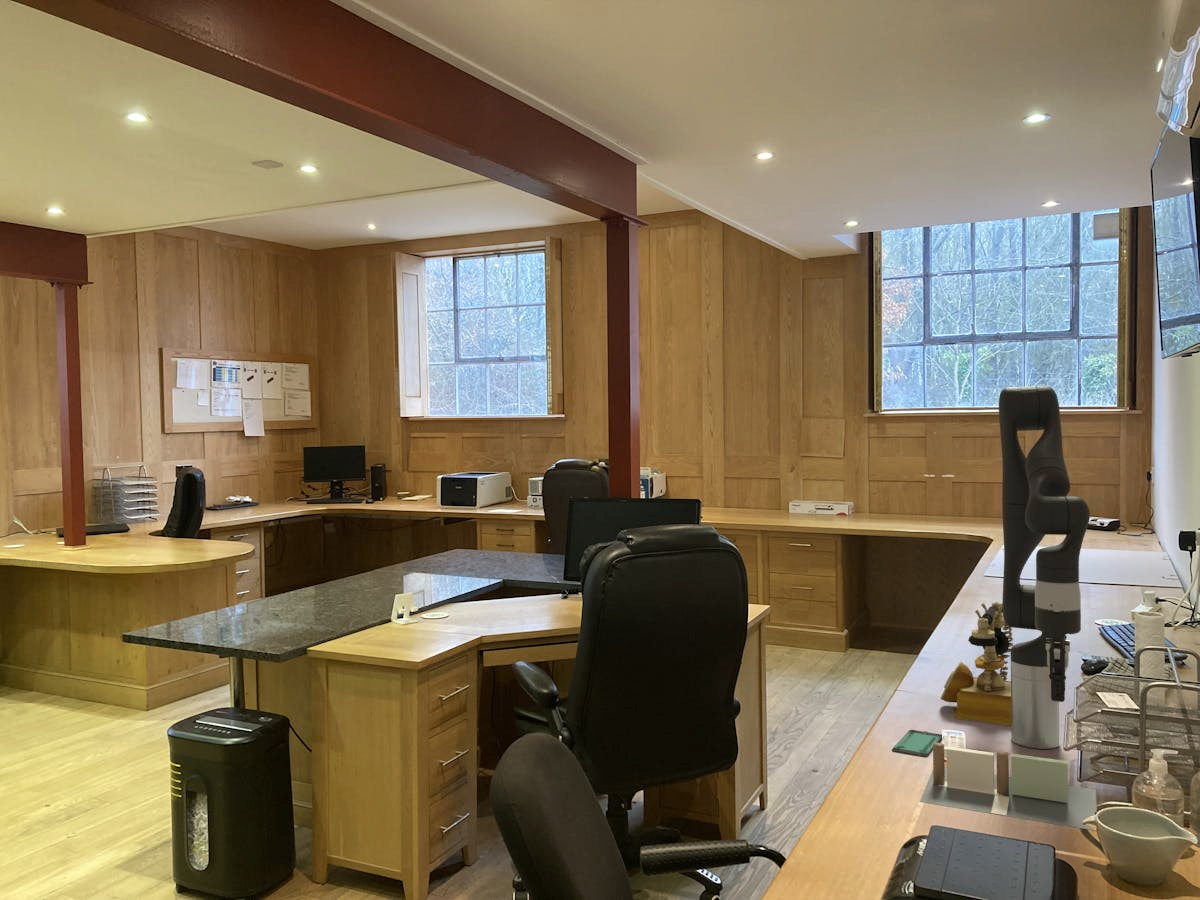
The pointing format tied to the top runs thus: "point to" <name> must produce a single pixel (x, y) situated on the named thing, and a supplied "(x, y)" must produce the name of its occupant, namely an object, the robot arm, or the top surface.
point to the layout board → (1016, 803)
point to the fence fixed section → (971, 769)
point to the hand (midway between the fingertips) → (1058, 695)
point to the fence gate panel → (1039, 778)
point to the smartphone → (917, 743)
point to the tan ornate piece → (984, 674)
